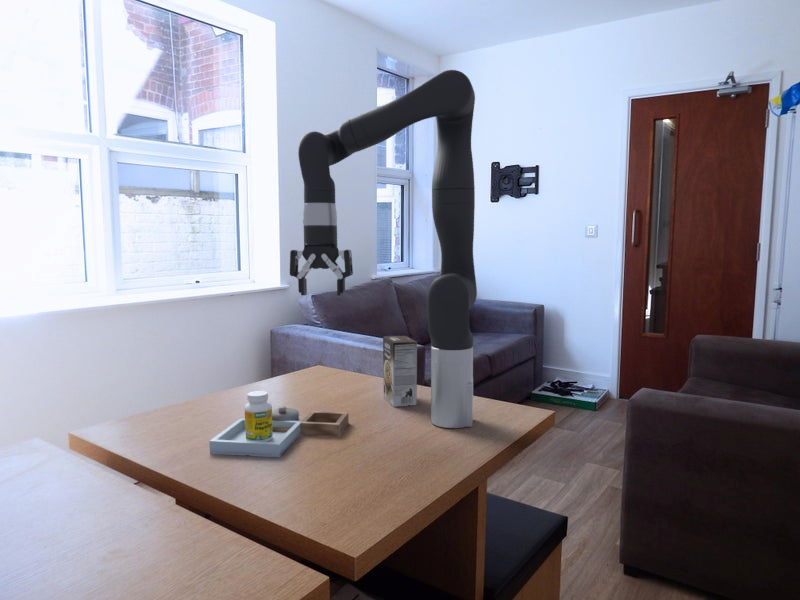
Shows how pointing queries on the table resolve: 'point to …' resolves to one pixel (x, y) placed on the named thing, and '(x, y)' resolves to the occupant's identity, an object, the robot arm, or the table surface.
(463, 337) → the robot arm
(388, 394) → the coffee box
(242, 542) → the table surface
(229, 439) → the tray
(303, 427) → the block
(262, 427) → the supplement bottle
